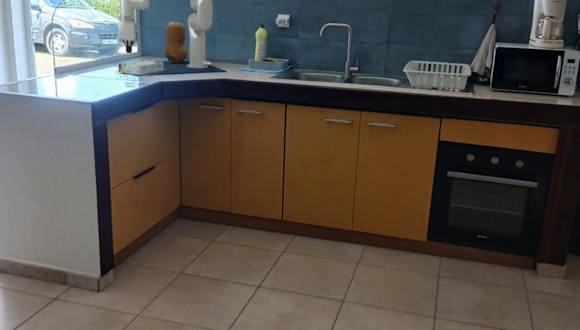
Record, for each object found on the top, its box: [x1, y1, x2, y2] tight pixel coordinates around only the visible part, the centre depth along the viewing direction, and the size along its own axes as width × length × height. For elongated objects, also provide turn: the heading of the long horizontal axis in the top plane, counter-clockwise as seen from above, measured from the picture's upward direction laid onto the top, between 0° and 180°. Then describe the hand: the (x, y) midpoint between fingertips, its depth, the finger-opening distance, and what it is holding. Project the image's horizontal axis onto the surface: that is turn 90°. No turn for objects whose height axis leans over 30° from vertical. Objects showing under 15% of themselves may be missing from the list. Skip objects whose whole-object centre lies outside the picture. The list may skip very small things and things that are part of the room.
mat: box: [125, 69, 167, 77], centre depth 336 cm, size 14×24×1 cm, turn 166°
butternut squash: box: [164, 21, 188, 64], centre depth 371 cm, size 14×13×25 cm
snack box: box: [118, 59, 165, 76], centre depth 334 cm, size 21×6×15 cm
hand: (129, 52), depth 336 cm, fingers closed
